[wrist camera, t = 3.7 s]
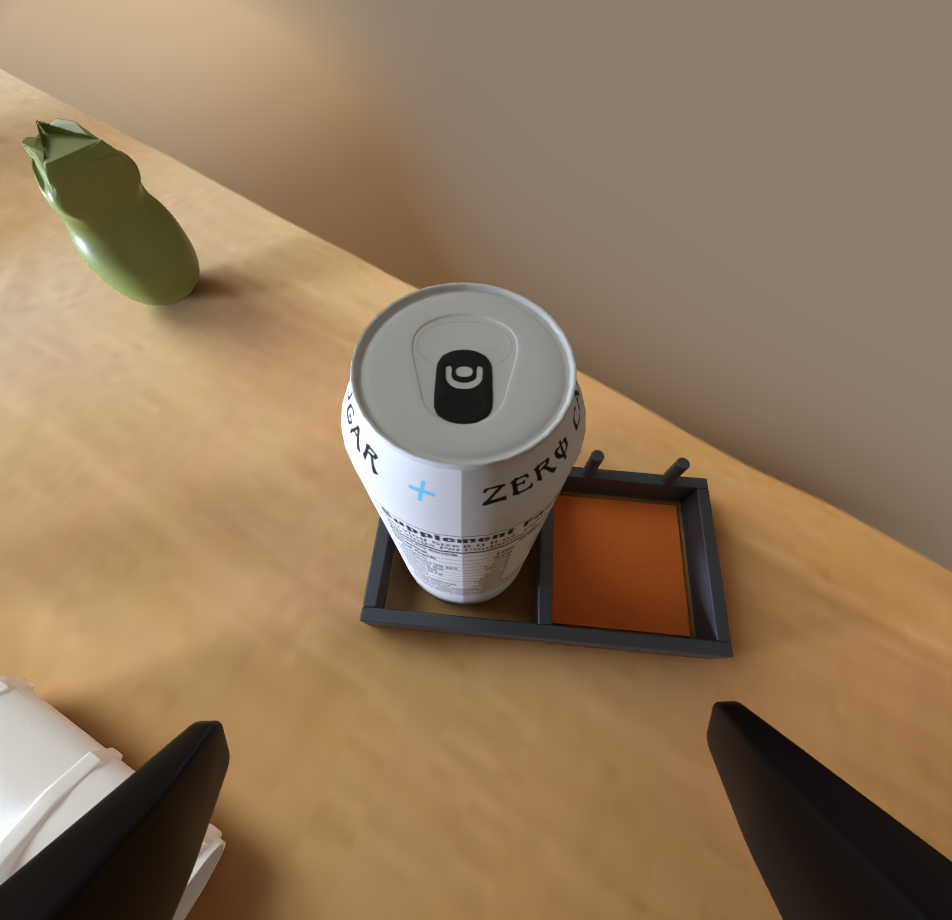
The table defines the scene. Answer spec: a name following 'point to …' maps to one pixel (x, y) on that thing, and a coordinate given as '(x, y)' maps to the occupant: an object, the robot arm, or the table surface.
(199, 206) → the table surface
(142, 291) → the green rounded upright piece
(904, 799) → the table surface
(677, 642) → the dark grey divided frame
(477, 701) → the table surface
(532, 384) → the energy drink can
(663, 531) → the mat
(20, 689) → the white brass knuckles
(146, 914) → the robot arm
